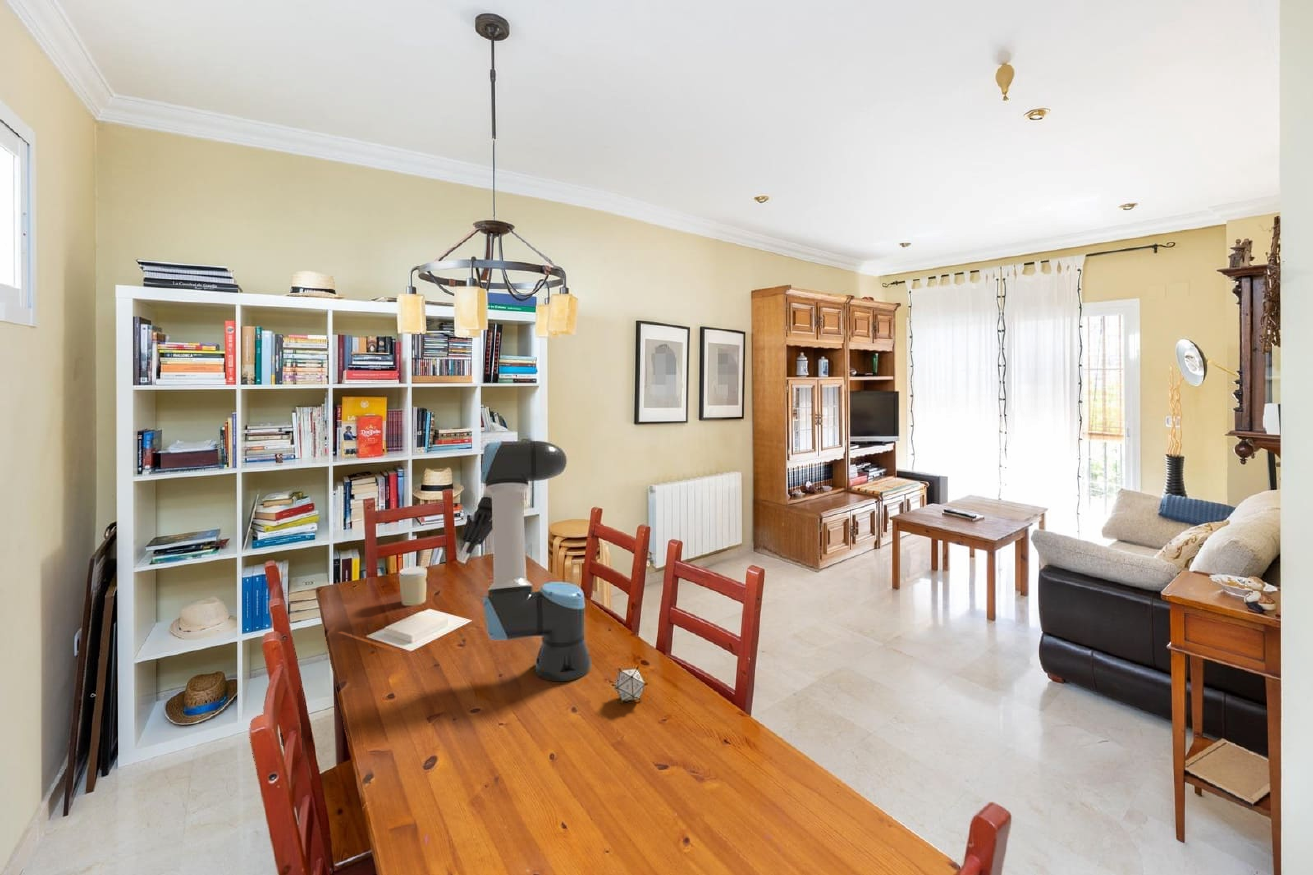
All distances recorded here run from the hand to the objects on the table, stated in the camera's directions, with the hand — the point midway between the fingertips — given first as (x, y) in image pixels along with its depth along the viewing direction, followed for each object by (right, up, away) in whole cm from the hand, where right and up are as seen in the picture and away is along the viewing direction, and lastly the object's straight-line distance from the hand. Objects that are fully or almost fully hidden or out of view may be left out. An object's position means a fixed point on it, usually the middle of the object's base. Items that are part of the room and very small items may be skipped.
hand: (460, 561), depth 192 cm
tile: (-6, -17, -7) cm, 19 cm away
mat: (-9, -19, -12) cm, 24 cm away
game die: (+59, -24, -50) cm, 81 cm away
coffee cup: (-20, -17, +10) cm, 28 cm away
